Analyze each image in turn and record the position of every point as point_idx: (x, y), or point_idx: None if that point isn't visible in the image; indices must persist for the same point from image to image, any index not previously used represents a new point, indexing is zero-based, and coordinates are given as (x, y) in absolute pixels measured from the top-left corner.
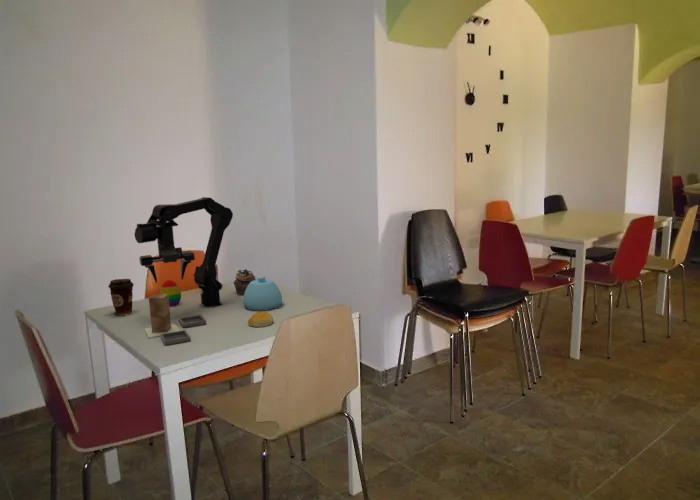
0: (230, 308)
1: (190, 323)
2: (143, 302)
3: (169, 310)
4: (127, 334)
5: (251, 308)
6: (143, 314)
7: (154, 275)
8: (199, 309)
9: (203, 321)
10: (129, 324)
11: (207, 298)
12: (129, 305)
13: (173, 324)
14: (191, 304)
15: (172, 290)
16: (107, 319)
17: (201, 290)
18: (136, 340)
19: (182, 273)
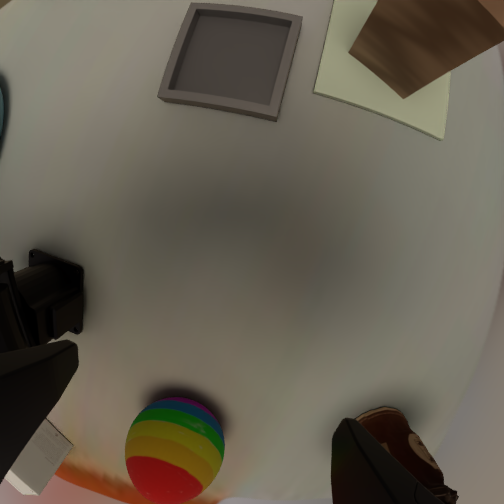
0: (27, 174)
1: (264, 10)
2: (258, 485)
3: (375, 7)
4: (493, 149)
5: (2, 99)
6: (339, 377)
7: (395, 475)
8: (109, 260)
9: (202, 5)
10: (447, 277)
11: (48, 285)
12: (376, 435)
13: (322, 85)
14: (117, 358)
15: (164, 441)
16: (446, 394)
17: (68, 443)
18: (481, 60)
19: (24, 361)
